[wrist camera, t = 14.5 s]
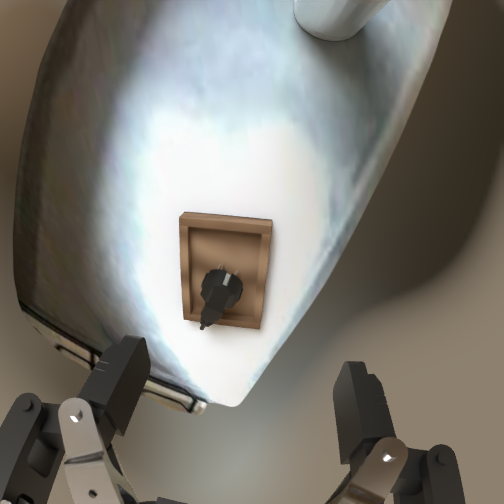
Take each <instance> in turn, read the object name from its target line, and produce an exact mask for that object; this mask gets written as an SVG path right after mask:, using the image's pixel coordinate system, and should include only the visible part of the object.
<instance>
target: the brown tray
mask: <svg viewBox="0 0 504 504" xmlns="http://www.w3.org/2000/svg"><path fill="white" fill-rule="evenodd" d="M271 230H272V220H269V219H259V218H249V217H239V216H228V215H217V214H206V213H194V212H184V213H183V214H182V215H181V216H180V217H179V234H180V265H181V286H182V302H183V317H184V320H191V321H198V322H200V319H201V314H200V313H201V311H202V309H203V307H204V305H205V301H204V299H203V298H202V296H201V295H200V293H201V290H202V288H201V284H202V282H203V279H204V277H205V275H206V273H209V272H210V270H213V269H217V267H218V265H219V264H220V263H222V264H223V265H224V267H223V269H222V270H225V271H227V274H230V275H231V274H232V273H233V274H234V272H235V271H236V270H238V271H239V272H240V274H239V276H238V278H239V279H240V280H241V281H242V283H243V287H242V288H243V291H242V294H241V297H240V300H239V301H238V302H237V303H235V305H234V306H233V307H232V308H227V309H224V310H225V311H224V313H223V315H222V316H221V318H220V319H219V321H218V322H217V321H215V323H214V324H219V325H227V326H235V327H244V328H253V329H260V322H261V314H262V306H263V298H264V290H265V281H266V273H267V265H268V256H269V248H270V239H271Z"/></svg>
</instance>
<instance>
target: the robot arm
mask: <svg viewBox="0 0 504 504" xmlns="http://www.w3.org/2000/svg"><path fill="white" fill-rule="evenodd" d="M389 1H390V0H295V1H294V9H293V10H294V15H295V18H296V20H297V22H298V23H299V24H300V26H301V27H302V28H303V29H304V30H305V31H307V32H308V33H310V34H311V35H313V36H315V37H317V38H320V39H323V40H327V41H342V40H346V39H349V38H350V37H352V36H354V35H355V34H356V33H357V32H358V31H359V30H360V29H361V28H362V27H363V26H364V25H365V24H366V23H367V22H368V21H369V20H370V19H371V18H372V17H373V16H374V15H375V14H377V13H378V12H379V11H380V10H381V9H382V8H383V7H384V6H385V5H386V4H387V3H388V2H389ZM150 368H151V363H150V358H149V354H148V349H147V345H146V340H145V338H143V337H139V336H134V335H130V334H126V335H125V336H124V338H123V339H122V341H121V343H120V344H119V345H118V344H113V345H111V346H110V347H109V348H108V349H106V350H105V351H104V353H103V354H102V356H101V358H100V359H99V362H97V364H96V366H95V369H93V371H92V372H91V374H90V376H89V377H88V379H87V381H86V383H85V384H84V386H83V388H82V389H81V391H80V393H79V394H78V396H77V397H76V398H71V399H68V400H66V401H65V402H63V403H62V404H51V403H42V402H41V400H40V399H39V398H38V396H36V395H35V394H33V393H24V394H22V395H20V396H19V397H18V398H17V399H16V400H15V402H14V404H13V405H12V407H11V409H10V410H9V412H8V414H7V416H6V418H5V420H4V421H3V423H2V425H1V427H0V504H47V501H48V498H49V495H50V492H51V489H52V486H53V483H54V480H55V477H56V475H57V472H58V469H59V466H60V464H61V461H62V459H63V456H64V454H65V452H66V456H67V461H66V462H64V470H65V474H66V478H67V481H68V484H69V488H70V491H71V494H72V497H73V500H74V503H75V504H187V503H182V502H177V501H173V500H169V499H165V498H161V497H158V498H157V501H146V502H139V500H138V498H137V495H136V494H135V492H134V490H133V488H132V486H131V485H130V483H129V482H128V480H127V478H126V476H125V473H124V471H123V469H122V466H121V463H120V461H119V458H118V456H117V453H116V450H115V448H114V445H113V442H112V439H113V437H114V434H117V435H120V436H124V434H125V431H126V429H127V426H128V424H129V421H130V419H131V417H132V414H133V412H134V409H135V407H136V405H137V402H138V400H139V397H140V395H141V393H142V390H143V388H144V386H145V383H146V381H147V379H148V376H149V374H150ZM333 401H334V409H335V417H336V425H337V433H338V441H339V450H340V460H341V464H350V471H349V473H348V474H347V475H346V477H345V478H344V479H343V481H342V482H341V484H340V485H339V486H338V487H337V489H336V490H335V491H334V493H333V494H332V495H331V496H330V498H329V499H328V500H327V501H326V503H325V504H384V501H385V499H386V497H387V496H388V494H389V493H393V497H394V504H465V498H464V492H463V487H462V482H461V477H460V473H459V469H458V464H457V460H456V456H455V453H454V451H453V450H452V449H451V448H450V447H449V446H446V445H442V444H440V445H436V446H434V447H432V448H431V449H430V450H429V451H426V450H418V449H412V448H408V447H406V445H405V444H404V443H403V442H402V441H401V440H400V439H398V438H397V437H396V435H395V431H394V427H393V423H392V420H391V416H390V412H389V408H388V405H387V401H386V397H385V396H384V391H383V387H382V384H381V382H380V381H379V380H378V378H377V377H376V376H375V375H374V374H368V373H367V369H366V366H365V363H364V362H356V361H351V362H350V361H346V362H345V363H344V364H343V367H342V369H341V371H340V374H339V376H338V378H337V380H336V382H335V385H334V389H333Z"/></svg>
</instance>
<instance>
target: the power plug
mask: <svg viewBox="0 0 504 504" xmlns="http://www.w3.org/2000/svg"><path fill="white" fill-rule="evenodd" d="M223 267H224V265H223V264H222V263H220V264H219V265H218V267H217V269H213V270H210V272H209V273H206V275H205V277H204V279H203V282H202V284H201V288H202V290H201V293H200V295H201V296H202V298H203V299H204V301H205V305H204V307H203V309H202V311H201V313H200V314H201V319H200V324H202V325H201V327H200V330H203V329H204V328H205V326H206V327H209V326H210V325H212V324H214V323H215V321H217V322H218V321H219V319H220V318H221V316H222V315H223V313H224V311H225V310H224V309H227V308H232V307H233V306H234V305H235V303H237V302H238V301H239V300H240V297H241V294H242V291H243V288H242V287H243V283H242V281H241V280H240V279H239V278H238V276H239V274H240V272H239V271H238V270H236V271H235V272H234V274H233V273H232V274H231V275H230V274H227V271H225V270H222V269H223Z"/></svg>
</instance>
